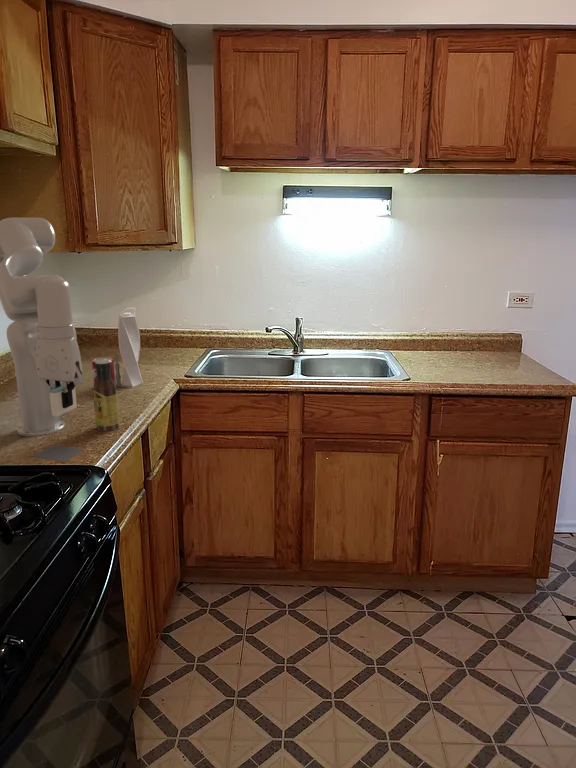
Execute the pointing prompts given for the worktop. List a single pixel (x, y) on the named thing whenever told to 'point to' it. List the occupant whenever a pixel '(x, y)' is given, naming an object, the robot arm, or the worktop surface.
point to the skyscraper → (128, 350)
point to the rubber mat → (58, 453)
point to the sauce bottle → (105, 398)
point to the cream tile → (60, 401)
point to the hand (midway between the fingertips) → (64, 405)
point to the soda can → (112, 370)
